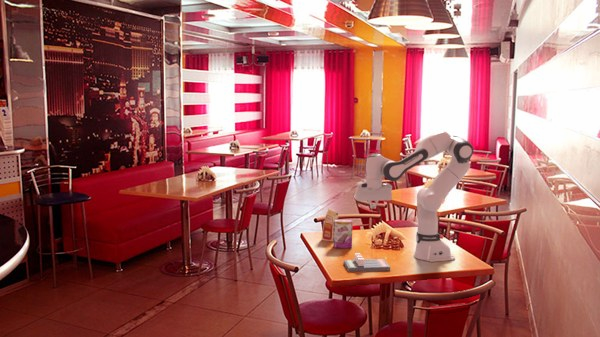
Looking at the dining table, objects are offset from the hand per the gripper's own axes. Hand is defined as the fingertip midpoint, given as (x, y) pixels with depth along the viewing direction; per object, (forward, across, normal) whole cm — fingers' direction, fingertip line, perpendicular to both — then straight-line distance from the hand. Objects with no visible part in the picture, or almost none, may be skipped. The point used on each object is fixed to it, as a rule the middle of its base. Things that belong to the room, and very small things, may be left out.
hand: (373, 208), depth 293 cm
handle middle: (+27, +10, +13) cm, 31 cm away
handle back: (+27, +10, +9) cm, 30 cm away
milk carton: (+29, +16, -45) cm, 56 cm away
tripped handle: (+27, +10, +17) cm, 33 cm away
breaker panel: (+29, +6, +13) cm, 32 cm away
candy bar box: (+29, +12, -26) cm, 41 cm away
